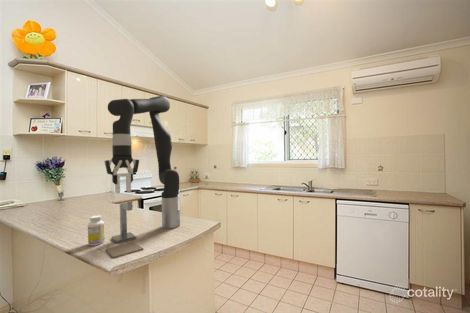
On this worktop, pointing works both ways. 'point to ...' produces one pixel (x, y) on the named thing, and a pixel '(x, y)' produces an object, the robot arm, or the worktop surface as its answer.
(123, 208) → the stand
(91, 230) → the supplement bottle
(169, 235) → the worktop surface
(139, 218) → the worktop surface
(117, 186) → the hook
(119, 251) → the cork mat
